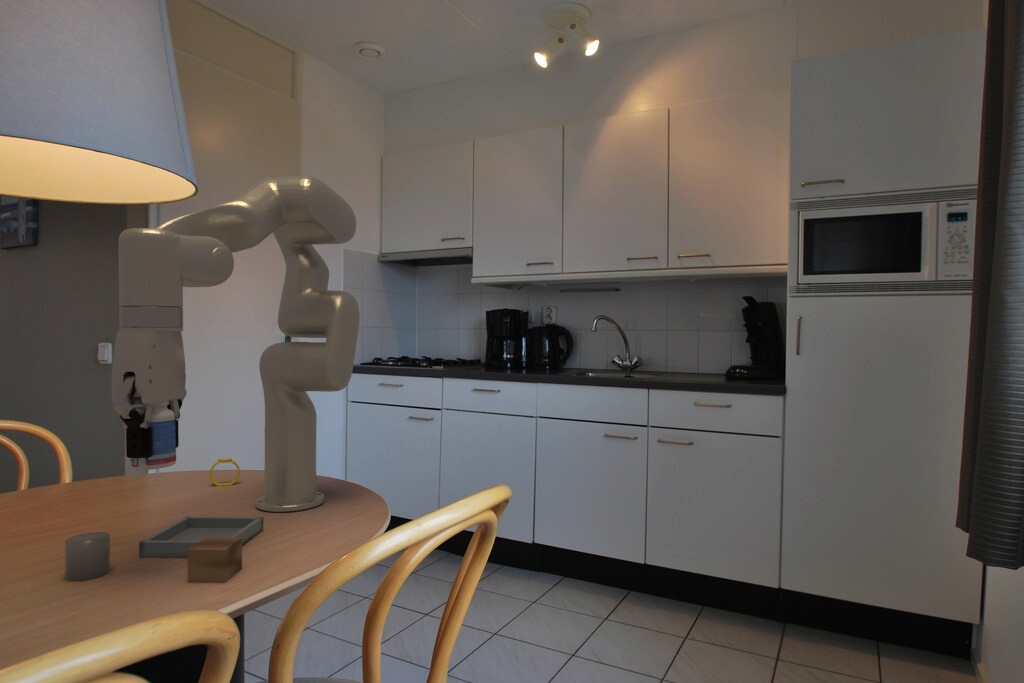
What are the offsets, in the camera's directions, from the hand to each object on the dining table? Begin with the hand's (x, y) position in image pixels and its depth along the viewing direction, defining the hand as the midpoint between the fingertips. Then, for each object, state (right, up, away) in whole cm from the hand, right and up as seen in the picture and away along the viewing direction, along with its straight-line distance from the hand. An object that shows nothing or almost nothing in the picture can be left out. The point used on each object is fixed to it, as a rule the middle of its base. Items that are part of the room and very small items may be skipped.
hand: (153, 451), depth 84 cm
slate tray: (+1, -17, +13) cm, 21 cm away
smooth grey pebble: (-9, -17, 0) cm, 19 cm away
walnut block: (+9, -17, 0) cm, 19 cm away
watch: (-14, -17, +51) cm, 55 cm away
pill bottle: (0, -2, 0) cm, 2 cm away
